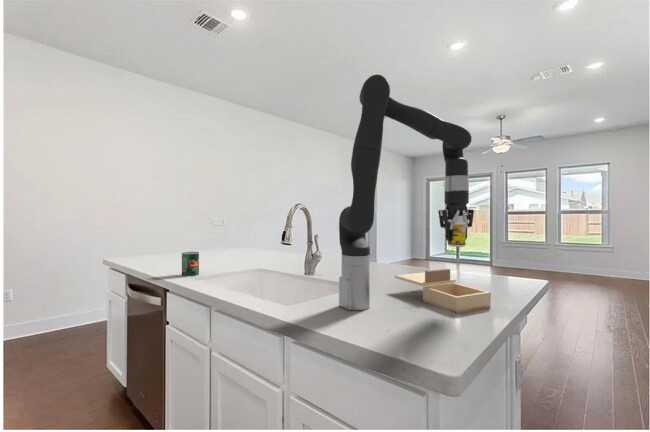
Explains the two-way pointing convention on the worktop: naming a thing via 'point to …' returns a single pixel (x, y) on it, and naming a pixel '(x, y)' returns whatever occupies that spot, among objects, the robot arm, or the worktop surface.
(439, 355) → the worktop surface
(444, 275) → the lid
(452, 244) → the supplement bottle
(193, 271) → the canned tomato
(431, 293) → the box
